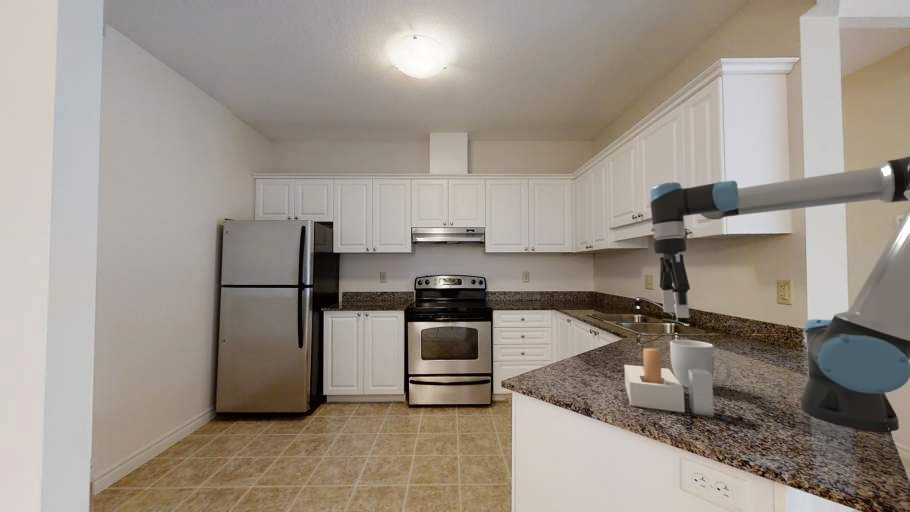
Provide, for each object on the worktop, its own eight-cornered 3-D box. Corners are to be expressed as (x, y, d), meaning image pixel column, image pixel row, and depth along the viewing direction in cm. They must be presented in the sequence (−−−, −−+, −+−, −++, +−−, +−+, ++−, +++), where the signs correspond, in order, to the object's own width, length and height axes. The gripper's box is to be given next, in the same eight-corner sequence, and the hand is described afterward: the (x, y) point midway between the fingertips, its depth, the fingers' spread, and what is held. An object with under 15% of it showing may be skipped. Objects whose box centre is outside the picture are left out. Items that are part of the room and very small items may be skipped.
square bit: (708, 410, 84) (706, 370, 85) (713, 416, 81) (711, 374, 81) (689, 407, 86) (688, 368, 86) (694, 413, 82) (692, 372, 83)
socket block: (669, 389, 100) (668, 368, 100) (684, 412, 83) (683, 388, 83) (625, 384, 104) (624, 364, 105) (630, 405, 88) (629, 382, 88)
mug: (734, 389, 99) (732, 344, 100) (729, 399, 91) (727, 351, 92) (676, 378, 110) (674, 338, 110) (667, 386, 102) (665, 343, 103)
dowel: (661, 393, 91) (658, 348, 91) (663, 398, 87) (661, 352, 88) (644, 391, 92) (642, 347, 93) (646, 396, 89) (643, 350, 89)
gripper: (645, 243, 106) (650, 310, 105) (664, 234, 83) (671, 320, 81) (672, 242, 104) (678, 310, 102) (700, 232, 80) (708, 320, 79)
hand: (675, 314), depth 92 cm, fingers open, 13 cm apart
